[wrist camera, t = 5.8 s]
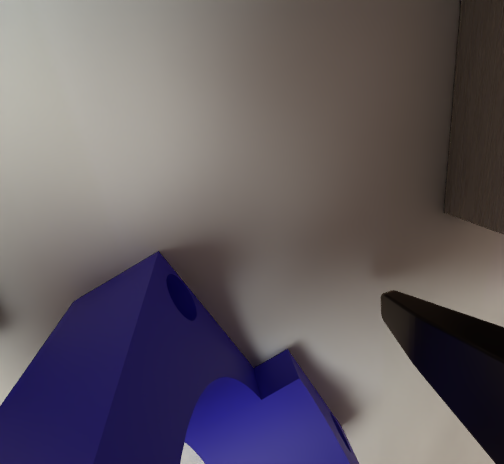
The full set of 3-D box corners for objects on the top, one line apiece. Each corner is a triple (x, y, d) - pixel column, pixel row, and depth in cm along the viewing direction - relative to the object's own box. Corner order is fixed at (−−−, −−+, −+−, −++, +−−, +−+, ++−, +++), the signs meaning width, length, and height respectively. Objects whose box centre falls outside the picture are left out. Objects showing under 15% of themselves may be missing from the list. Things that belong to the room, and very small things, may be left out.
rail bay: (474, 204, 10) (551, 226, 7) (-55, 351, 8) (-143, 430, 6) (524, -182, 6) (696, -343, 4) (-411, -48, 4) (-942, -198, 2)
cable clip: (339, 422, 13) (442, 638, 8) (258, 468, 13) (302, 713, 8) (201, 223, 8) (211, 419, 3) (75, 298, 8) (-158, 631, 3)
